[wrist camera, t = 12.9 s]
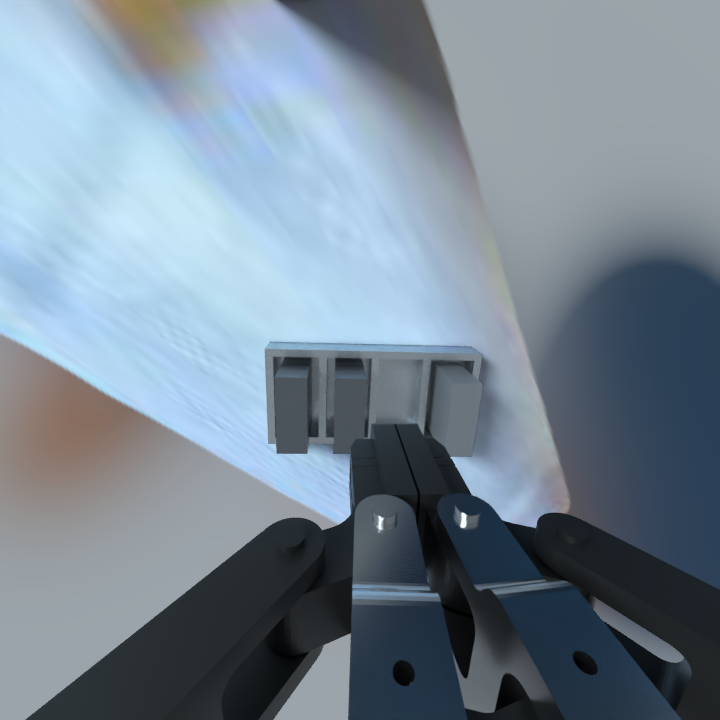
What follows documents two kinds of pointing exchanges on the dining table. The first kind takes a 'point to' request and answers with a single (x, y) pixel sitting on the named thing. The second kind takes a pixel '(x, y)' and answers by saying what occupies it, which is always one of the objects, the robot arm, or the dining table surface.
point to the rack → (350, 390)
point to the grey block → (454, 408)
